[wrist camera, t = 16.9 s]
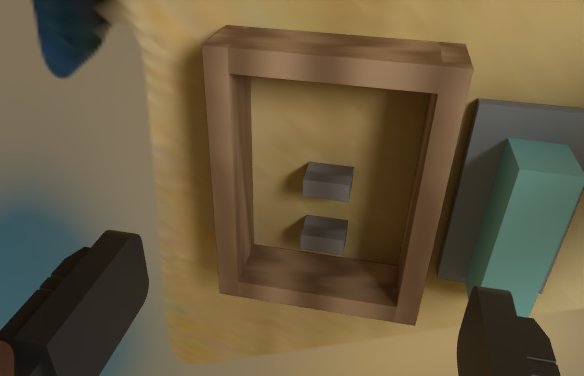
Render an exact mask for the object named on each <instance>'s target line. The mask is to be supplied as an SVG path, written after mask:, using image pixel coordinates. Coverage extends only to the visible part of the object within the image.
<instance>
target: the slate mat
mask: <svg viewBox="0 0 584 376" xmlns="http://www.w3.org/2000/svg"><path fill="white" fill-rule="evenodd" d="M508 138H515V139H523V140H532V141H540V142H549V143H557V144H566V145H568V146H569V148H570V150H571V151H572V153H573V155H574V157H575V158H576V160H577V162H578V163H579V165H580V167H581V168H582V170H583V172H584V108H573V107H563V106H552V105H542V104H531V103H521V102H510V101H500V100H489V99H479V98H478V100H477V105H476V109H475V113H474V117H473V121H472V125H471V130H470V134H469V138H468V142H467V146H466V150H465V155H464V159H463V163H462V167H461V171H460V175H459V180H458V184H457V188H456V192H455V196H454V200H453V205H452V209H451V213H450V217H449V221H448V225H447V230H446V234H445V238H444V242H443V246H442V250H441V255H440V259H439V263H438V267H437V278H440V279H447V280H453V281H460V282H466V278H465V277H466V274H467V271H468V267H469V264H470V261H471V258H472V254H473V251H474V248H475V244H476V241H477V238H478V234H479V231H480V228H481V225H482V221H483V218H484V215H485V211H486V208H487V205H488V201H489V198H490V195H491V192H492V188H493V185H494V182H495V178H496V175H497V172H498V169H499V165H500V162H501V159H502V155H503V152H504V149H505V145H506V142H507V139H508ZM583 190H584V186H583V188H582V191H581V193H580V196H579V198H578V200H577V203H576V205H575V208H574V210H573V212H572V215H571V217H570V219H569V222H568V224H567V227H566V229H565V231H564V234H563V236H562V239H561V241H560V243H559V246H558V248H557V250H556V253H555V255H554V258H553V260H552V262H551V265H550V267H549V270H548V272H547V274H546V277H545V279H544V281H543V284H542V286H541V289H540V291H539V293H540V294H542V291H543V289H544V287H545V284H546V282H547V279H548V277H549V274H550V272H551V269H552V267H553V264H554V262H555V259H556V257H557V254H558V252H559V249H560V247H561V244H562V242H563V239H564V237H565V235H566V232H567V230H568V227H569V225H570V222H571V220H572V217H573V215H574V212H575V210H576V207H577V205H578V202H579V200H580V197H581V195H582V192H583Z"/></svg>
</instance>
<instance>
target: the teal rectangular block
mask: <svg viewBox="0 0 584 376" xmlns="http://www.w3.org/2000/svg"><path fill="white" fill-rule="evenodd" d="M583 186H584V172H583V170H582V168H581V167H580V165H579V163H578V162H577V160H576V158H575V157H574V155H573V153H572V151H571V150H570V148H569V146H568V145H566V144H557V143H549V142H540V141H532V140H523V139H515V138H508V139H507V142H506V145H505V149H504V152H503V155H502V159H501V162H500V165H499V169H498V172H497V175H496V178H495V182H494V185H493V188H492V192H491V195H490V198H489V201H488V205H487V208H486V211H485V215H484V218H483V221H482V225H481V228H480V231H479V234H478V238H477V241H476V244H475V248H474V251H473V254H472V258H471V261H470V264H469V267H468V271H467V274H466V277H465V278H466V285H467V293H468V300H469V297H470V294H471V291H472V289H473V287H474V286H481V287H487V288H494V289H501V290H507V291H510V292H511V294H512V297H513V301H514V305H515V309H516V313H517V316H521V317H527V318H528V317H529V315H530V312H531V310H532V308H533V305H534V303H535V301H536V298H537V296H538V293H539V291H540V289H541V286H542V284H543V281H544V279H545V277H546V274H547V272H548V270H549V267H550V265H551V262H552V260H553V258H554V255H555V253H556V250H557V248H558V246H559V243H560V241H561V239H562V236H563V234H564V231H565V229H566V227H567V224H568V222H569V219H570V217H571V215H572V212H573V210H574V208H575V205H576V203H577V200H578V198H579V196H580V193H581V191H582V188H583Z"/></svg>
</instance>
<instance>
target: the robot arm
mask: <svg viewBox="0 0 584 376" xmlns="http://www.w3.org/2000/svg"><path fill="white" fill-rule="evenodd" d="M148 287H149V279H148V274H147V268H146V262H145V256H144V250H143V244H142V240H141V237H140V236H139V235H138V234H134V233H127V232H121V231H114V230H107V231H105V232H104V233H103V234H102V235H101V237H100V238H99V239H98V240H97V241H96V242H95V244H94V245H93V246H92V247H91V248H88V247H83V248H82V249H80V250H78V251H77V252H75V253H74V254H72V255H70V256H69V257H67V258H65V259H64V260H63V262H62V263H61V264H60V265H59V266H58V267H57V268H56V269H55V270H54V271H53V273H52V274H51V277H49V278H47V279H46V280H45V282H44V283H43V284H42V285H41V286H40V289H39V290H36V292H35V293H34V294H33V295H32V296H31V297H30V298H29V299H28V300H27V302H26V303H25V304H24V305H23V306H22V307H21V308H20V309H19V311H18V312H17V313H16V314H15V315H14V316H13V317H12V318H11V319H10V320H9V322H8V323H7V324H6V325H5V326H4V327H3V328H2V329H1V330H0V376H99V375H100V373H101V371H102V370H103V368H104V366H105V365H106V363H107V362H108V360H109V359H110V357H111V355H112V354H113V352H114V350H115V349H116V347H117V346H118V344H119V342H120V341H121V339H122V338H123V336H124V335H125V333H126V331H127V330H128V328H129V326H130V325H131V323H132V321H133V320H134V318H135V317H136V315H137V314H138V312H139V310H140V308H141V307H142V305H143V304H144V302H145V299H146V296H147V293H148ZM457 365H458V374H459V376H560V372H559V369H558V366H557V365H556V359H555V356H554V353H553V349H552V346H551V342H550V339H549V338H548V336H547V335H546V334H545V332H544V331H543V330H542V329H541V327H540V326H539V325H538V324H537V322H536V321H535V320H534V319H533V318H527V317H521V316H517V313H516V309H515V305H514V301H513V297H512V294H511V292H510V291H507V290H501V289H494V288H487V287H481V286H474V287H473V289H472V291H471V294H470V297H469V301H468V304H467V307H466V311H465V314H464V318H463V321H462V324H461V328H460V331H459V336H458V342H457Z"/></svg>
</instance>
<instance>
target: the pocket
mask: <svg viewBox="0 0 584 376" xmlns="http://www.w3.org/2000/svg"><path fill="white" fill-rule="evenodd" d="M202 56H203V70H204V84H205V97H206V111H207V125H208V139H209V152H210V166H211V180H212V193H213V207H214V221H215V235H216V248H217V262H218V276H219V290H220V293H221V294H227V295H233V296H239V297H245V298H251V299H257V300H263V301H269V302H275V303H281V304H287V305H293V306H299V307H305V308H311V309H317V310H323V311H329V312H335V313H341V314H347V315H353V316H359V317H365V318H371V319H377V320H383V321H389V322H395V323H401V324H408V325H414V326H415V324H416V320H417V316H418V311H419V307H420V302H421V298H422V294H423V289H424V285H425V280H426V276H427V272H428V267H429V263H430V258H431V254H432V250H433V245H434V241H435V236H436V232H437V228H438V223H439V219H440V214H441V210H442V206H443V201H444V197H445V192H446V188H447V184H448V179H449V175H450V170H451V166H452V162H453V157H454V153H455V148H456V144H457V140H458V135H459V131H460V126H461V122H462V118H463V113H464V109H465V104H466V100H467V96H468V91H469V87H470V82H471V78H472V74H473V66H472V63H471V60H470V56H469V53H468V50H467V47H466V44H457V43H444V42H432V41H419V40H407V39H394V38H381V37H369V36H356V35H344V34H331V33H318V32H306V31H293V30H281V29H268V28H256V27H243V26H230V25H226V26H225V27H224V28H222V29H221V30H220V31H219V32H217V33H216V34H215V35H214V36H213V37H211V38H210V39H209V40H208V41H206V42H205V43H204V44H203V45H202ZM250 76H258V77H268V78H279V79H289V80H300V81H310V82H321V83H331V84H342V85H352V86H363V87H373V88H384V89H394V90H405V91H415V92H426V93H430V96H429V101H428V107H427V112H426V117H425V123H424V128H423V134H422V139H421V145H420V150H419V156H418V161H417V166H416V172H415V177H414V183H413V188H412V194H411V199H410V204H409V210H408V215H407V221H406V226H405V232H404V237H403V243H402V248H401V253H400V259H399V264H398V266H395V265H388V264H382V263H375V262H368V261H361V260H355V259H348V258H341V257H335V256H328V255H321V254H314V253H308V252H301V251H294V250H287V249H281V248H274V247H267V246H260V245H254V230H253V182H252V134H251V86H250ZM353 169H354V167H348V166H339V165H331V164H323V163H314V162H309V165H308V167H307V170H306V173H305V176H304V179H303V196H305V197H312V198H320V199H328V200H335V201H343V202H349V196H350V191H351V186H352V178H353ZM347 226H348V221H347V220H339V219H332V218H325V217H318V216H310V215H307V216H306V219H305V223H304V226H303V229H302V232H301V242H300V249H304V250H311V251H317V252H324V253H331V254H338V255H343V252H344V246H345V241H346V235H347Z"/></svg>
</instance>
